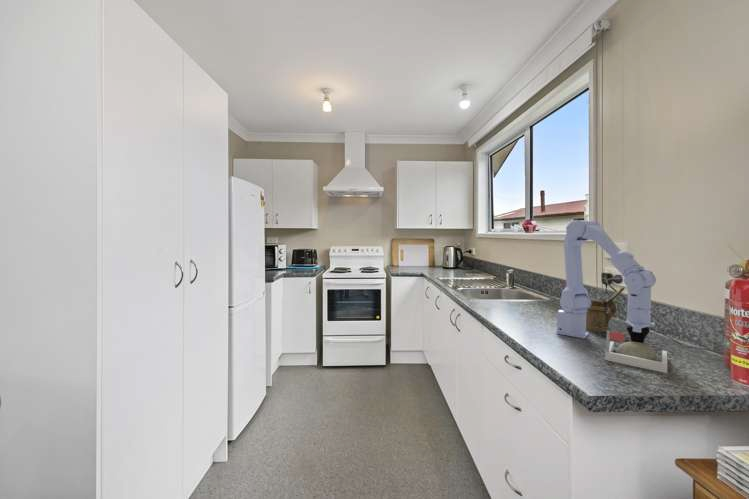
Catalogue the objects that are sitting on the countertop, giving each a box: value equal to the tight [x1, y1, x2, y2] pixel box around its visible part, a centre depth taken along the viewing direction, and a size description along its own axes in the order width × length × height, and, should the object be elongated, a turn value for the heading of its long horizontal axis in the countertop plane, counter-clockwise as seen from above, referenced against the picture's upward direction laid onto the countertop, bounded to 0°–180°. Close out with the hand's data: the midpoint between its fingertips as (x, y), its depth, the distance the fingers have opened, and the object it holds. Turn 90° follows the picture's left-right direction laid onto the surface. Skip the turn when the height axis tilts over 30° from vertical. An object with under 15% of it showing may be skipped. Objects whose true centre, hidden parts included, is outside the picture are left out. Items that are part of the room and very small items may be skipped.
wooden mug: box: [586, 287, 625, 333], centre depth 128 cm, size 9×14×18 cm, turn 52°
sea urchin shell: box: [617, 341, 657, 361], centre depth 99 cm, size 9×8×8 cm
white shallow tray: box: [604, 330, 668, 374], centre depth 97 cm, size 14×14×9 cm
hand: (637, 349), depth 103 cm, fingers closed
